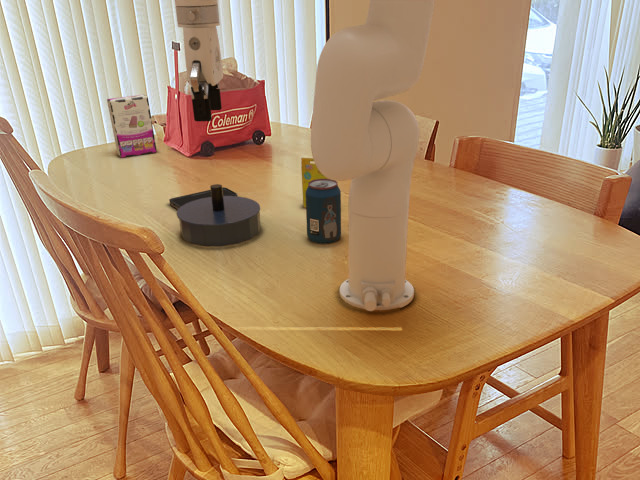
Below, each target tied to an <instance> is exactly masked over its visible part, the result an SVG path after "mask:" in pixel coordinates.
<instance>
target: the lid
mask: <svg viewBox="0 0 640 480" xmlns="http://www.w3.org/2000/svg"><path fill="white" fill-rule="evenodd" d="M222 187H223V185H222V184H218V183H216V184H211V185H210V187H209V190H211V197H208V198H202V199H198V200H194V201H191V202H189V203H187V204H184V205H183V206H181V207H180V208H179V209H178V210H177V211H176V217H177V219H178V221H179V220H181V221H182V222H185V223H187V224H191V225H196V226H225V225H232V224H236V223H240V222H244V221H246V220H249V219H251V218H253V217H255V216H256V215H257V214H258V213H259V212H261V205H260V203H258V202H257V201H256V200H254V199H251V198H248V197H244V196H238V195H237V196H223V190H222Z"/></svg>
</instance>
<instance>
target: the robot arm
mask: <svg viewBox="0 0 640 480" xmlns="http://www.w3.org/2000/svg"><path fill="white" fill-rule="evenodd" d="M435 3H436V0H369V5H368V11H367V15H366V20H365V23H364V24H359V25H352V26H347V27H344V28H341V29H339V30H338V31H336V32H335V33H333V34H332V35H331V36H330V37H329V38H328V40H327V41H326V42H325V44H324V46H323V47H322V50H321V52H320V54H319V57H318V61H317V66H316V74H315V83H314V94H313V95H314V96H313V105H312V115H311V128H310V150H311V156H312V158H313V159H314V161H313V162H314V164H316V166H317V168H318V170H319V171H320V172H321V173H322V174H323V175H324V176H325V177H327V178H328V179H331V180H334V181H337V182H347V181H350V186H349V192H348V278H347V279H345V280H344V281H343V282H342V283H341V284H340V286H339V296H340V297H341V299H342V300H343V301H344V302H345V303H346V304H348V305H350V306H353V307H355V308H358V309H363V310H366V311H368V312H373V311H387V310H393V309H398V308H399V309H402V308H404V307H405V306H407V305H409V304H410V303H411V302H412V301H413V299H414V297H415V288H414V286H413V284H412V283H411V282H410V281H408V280H407V279H406V273H407V253H408V252H407V251H408V233H409V231H408V230H409V213H410V211H409V210H410V198H411V197H410V196H411V187H412V186H411V184H412V176H413V170H414V166H415V162H416V158H417V153H418V148H419V142H420V128H419V123H418V120H417V118H416V116H415V114H414V112H413V111H412V110H411V109H410V108H409V107H408V106H407V105H405V104H404V103H402V102H399V101H396V100H390V99H389V100H388V99H386V98H391V97H393V96H397V95H400V94H402V93H405V92H408V91H409V90H411V89H413V88H414V87H415V86H416V84H417V83H418V82H419V79H420V77H421V75H422V71H423V69H424V68H423V67H424V63H425V59H426V58H425V57H426V52H427V47H428V42H429V35H430V31H431V25H432V20H433V15H434V9H435ZM174 5H175V7H174V8H175V17H176V23H177V28H182V32H183V33H182V34H183V45H184V46H183V47H184V48H183V49H184V57H185V58H184V59H185V68H186V75H187V79H188V80H187V81H188V84H189V85H190V91H191V95H190V96H191V104H192V105H191V106H192V112H193V113H192V114H193V120H194V122H211V121H212V119H213V117H212V116H213V115H212V111H221V110H222V109H223V107H222V97H221V89H220V82H221V81H222V80H223V78H224V67H223V62H222V61H223V60H222V54H221V47H220V46H221V45H220V39H219V34H218V29H217V27H218V26H221V22H220V12H219V1H218V0H174ZM381 99H383V100H381Z"/></svg>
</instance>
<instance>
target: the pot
mask: <svg viewBox="0 0 640 480" xmlns="http://www.w3.org/2000/svg"><path fill="white" fill-rule="evenodd" d="M260 212H261V211H260ZM260 212H259V213H258V214H257V215H256V216H255V217H253V218H251V219H249V220H246V221H244V222H240V223H236V224H232V225H225V226H196V225H191V224H187V223H185V222H182V221H181V220H179V219H178V221H179V228H180V235H181V237H182V240H184V241H186V242H188V243H189V244H192V245H197V246H202V247H225V246H232V245H239V244H241V243H245V242H247V241H249V240H250V241H251V240H253V238H255V237H256V236H257V235H259V234H260V231H261V229H262V226H261V213H260Z"/></svg>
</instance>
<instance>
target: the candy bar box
mask: <svg viewBox="0 0 640 480" xmlns="http://www.w3.org/2000/svg"><path fill="white" fill-rule="evenodd" d="M106 103H107V107H108V112H109V117H110V123H111V127H112V133H113V138H114V144H115V148H116V153H117V155H118V156H119V157H120V158H122V159H123V158H130V157H136V156H143V155H148V154H154V153H157V152H158V150H157V145H156V144H157V143H156V138H155V132H154V128H153V127H154V126H153V120H152V113H151V108H150V101H149V97H148V95H145V94H137V95H128V96H127V95H126V96H121V97H114V98H113V97H112V98H107V99H106Z"/></svg>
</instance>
